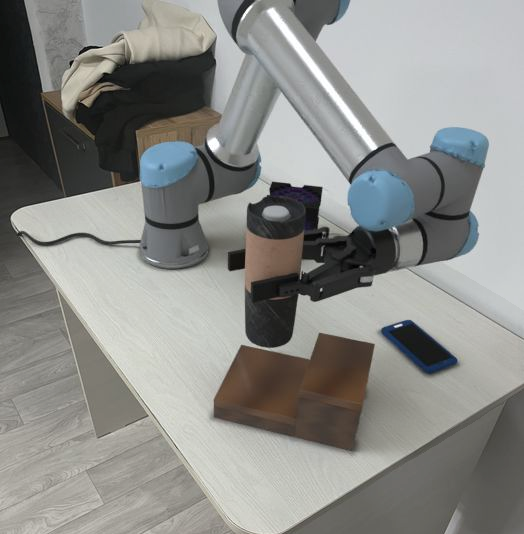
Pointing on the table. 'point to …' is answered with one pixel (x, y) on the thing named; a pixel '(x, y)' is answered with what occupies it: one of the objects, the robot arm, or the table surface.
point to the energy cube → (301, 200)
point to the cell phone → (419, 346)
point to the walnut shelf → (299, 390)
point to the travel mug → (272, 266)
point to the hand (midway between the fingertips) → (240, 276)
